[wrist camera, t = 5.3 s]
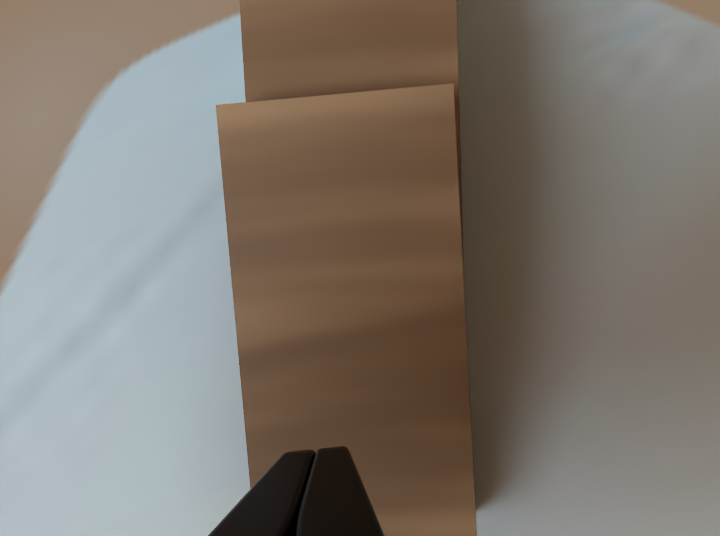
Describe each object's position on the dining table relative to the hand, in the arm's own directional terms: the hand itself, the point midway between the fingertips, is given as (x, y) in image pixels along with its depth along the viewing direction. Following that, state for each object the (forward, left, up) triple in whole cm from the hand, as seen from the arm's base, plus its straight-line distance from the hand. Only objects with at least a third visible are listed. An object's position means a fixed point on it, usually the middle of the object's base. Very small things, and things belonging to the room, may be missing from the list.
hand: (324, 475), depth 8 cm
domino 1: (-1, +1, -7) cm, 7 cm away
